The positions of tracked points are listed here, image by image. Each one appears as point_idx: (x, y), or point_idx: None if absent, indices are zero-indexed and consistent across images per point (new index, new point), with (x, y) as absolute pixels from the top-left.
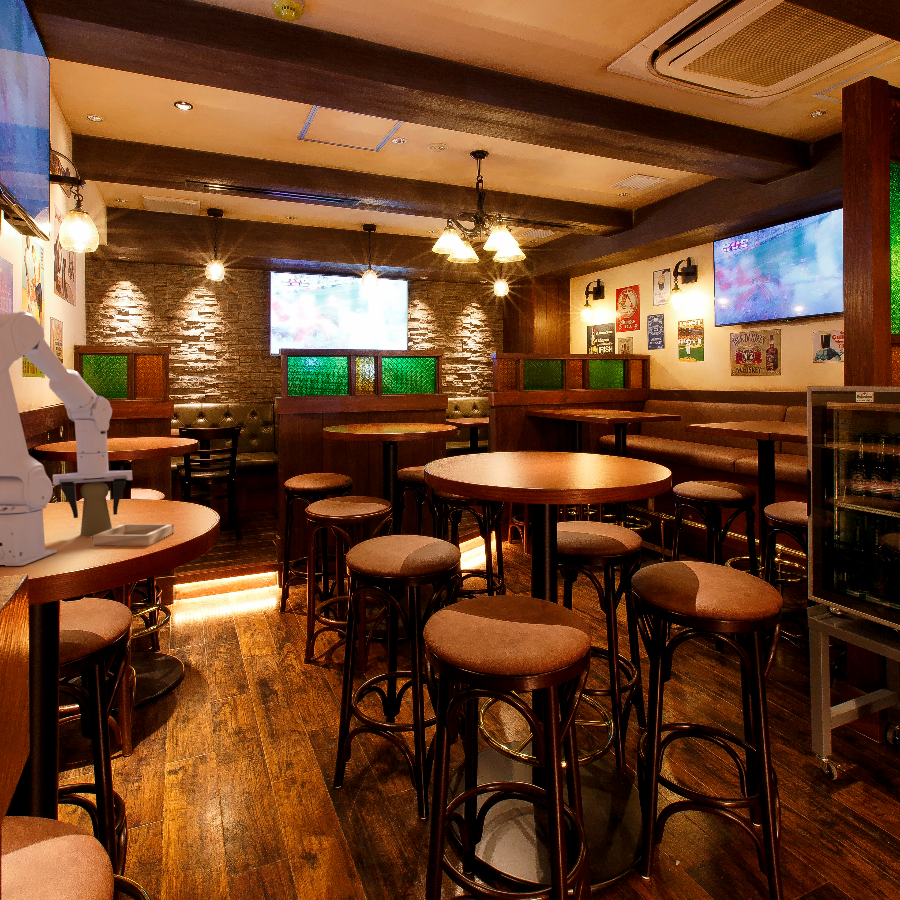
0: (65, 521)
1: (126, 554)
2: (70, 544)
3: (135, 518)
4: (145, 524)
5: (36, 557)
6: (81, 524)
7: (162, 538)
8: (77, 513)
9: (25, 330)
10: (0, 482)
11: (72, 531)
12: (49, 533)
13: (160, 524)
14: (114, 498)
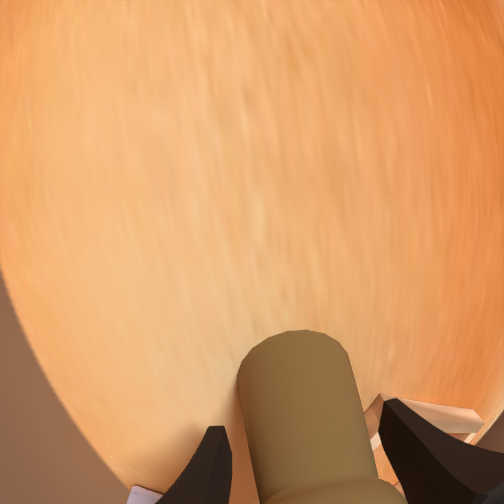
0: (119, 41)
1: None
2: (233, 471)
3: (425, 95)
4: (439, 427)
5: None
6: (243, 418)
7: None
8: (229, 463)
9: None
10: None
11: (187, 302)
12: (107, 304)
13: (463, 429)
14: (407, 493)
